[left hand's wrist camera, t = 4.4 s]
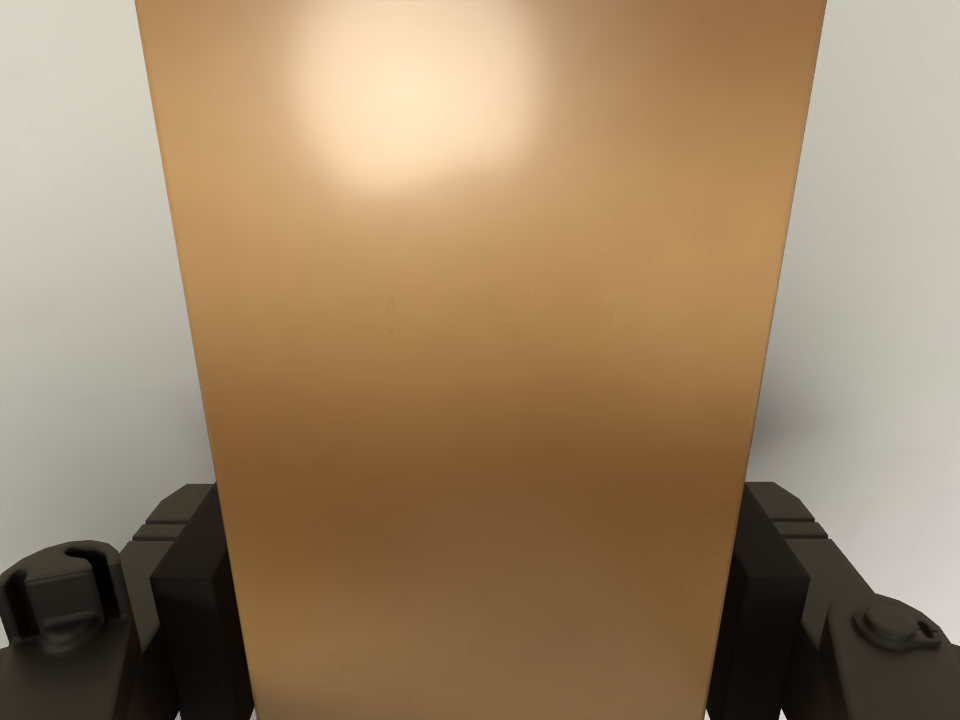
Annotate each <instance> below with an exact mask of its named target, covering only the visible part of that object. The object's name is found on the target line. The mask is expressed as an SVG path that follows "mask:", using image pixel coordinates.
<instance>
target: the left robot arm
mask: <svg viewBox="0 0 960 720" xmlns="http://www.w3.org/2000/svg"><path fill="white" fill-rule="evenodd" d="M0 617H1V620H2V623H3V625H4V628H5V631H6V634H7V637H8V640H9V643H10V644H9V646H8V647H5V648H2V649H0V720H175V718H176V716H177V714H178V712H179V711H180V716H181V720H250V717H251V715H252V712H253V709H254V707H255V705H254V700H253V694H252V688H251V682H250V676H249V670H248V664H247V658H246V653H245V647H244V641H243V635H242V629H241V623H240V617H239V611H238V605H237V600H236V594H235V588H234V582H233V576H232V570H231V564H230V558H229V553H228V547H227V541H226V535H225V529H224V523H223V517H222V511H221V506H220V500H219V494H218V488H217V482H215V484H186V485H185V486H183V487H182V488H180V489H179V490H177V491H176V492H174V493H173V494H171V495H170V496H168V497H167V498H165V499H164V500H162V501H161V502H160V503H159V505H158V506H157V507H156V508H155V510H154V511H153V512H152V513H151V515H150V516H149V517H148V518H147V520H146V524H145V525H142V526H141V527H140V528H139V530H138V531H137V532H136V533H135V535H134V536H133V540H132V541H129V542H128V543H127V545H126V546H125V547H124V548H123V550H122V551H121V552H120V553H118V551H117V550H116V549H115V548H113V547H112V546H111V545H110V544H108V543H104V542H98V541H93V540H86V541H73V542H67V543H63V544H59V545H56V546H52V547H48V548H45V549H43V550H41V551H38V552H36V553H34V554H32V555H30V556H28V557H25V558H23V559H21V560H20V561H19V562H17V563H16V564H14V565H13V566H12V567H10V568H9V569H7V570H6V571H4V572H3V573H2V574H1V576H0ZM781 708H782V710H783V713H784V715H785V717H786V719H787V720H960V646H958V645H954V644H951V643H950V641H949V640H948V638H947V637H946V635H945V634H944V633H943V631H942V630H941V628H940V627H939V626H938V625H937V624H935V623H934V622H933V621H932V620H930V619H929V618H928V617H927V616H926V615H924V614H923V613H922V612H920V611H918V610H916V609H914V608H913V607H911V606H909V605H907V604H905V603H903V602H901V601H899V600H896V599H892V598H889V597H886V596H883V595H879V594H876V593H874V592H873V590H872V589H871V588H870V587H869V585H868V584H867V583H866V582H865V580H864V579H863V578H862V577H861V575H860V574H859V573H858V572H857V570H856V569H855V568H854V567H853V565H852V564H851V563H850V562H849V560H848V559H847V558H846V557H845V555H844V554H843V553H842V552H841V550H840V549H839V548H838V547H837V545H836V544H835V543H834V542H833V541H832V539H828V534H827V533H826V532H825V531H824V529H823V528H822V527H821V526H820V524H819V523H818V522H815V518H814V517H813V516H812V514H811V513H810V512H809V511H808V509H807V508H806V507H805V506H804V504H803V503H802V502H801V501H800V499H798V498H797V497H795V496H794V495H792V494H791V493H789V492H788V491H786V490H785V489H783V488H782V487H780V486H779V485H777V484H776V483H774V482H744V488H743V494H742V500H741V506H740V512H739V518H738V523H737V529H736V535H735V541H734V547H733V553H732V559H731V564H730V570H729V576H728V582H727V588H726V594H725V600H724V605H723V611H722V617H721V623H720V629H719V635H718V641H717V646H716V652H715V658H714V664H713V670H712V676H711V681H710V687H709V693H708V699H707V705H706V709H707V712H708V715H709V717H710V720H779V716H780V711H781Z"/></svg>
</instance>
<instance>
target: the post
mask: <svg viewBox="0 0 960 720" xmlns="http://www.w3.org/2000/svg"><path fill="white" fill-rule="evenodd" d="M826 2H827V0H135V6H136V12H137V18H138V23H139V29H140V35H141V41H142V47H143V53H144V59H145V65H146V70H147V76H148V82H149V88H150V94H151V100H152V106H153V112H154V118H155V123H156V129H157V135H158V141H159V147H160V153H161V159H162V165H163V170H164V176H165V182H166V188H167V194H168V200H169V206H170V212H171V217H172V223H173V229H174V235H175V241H176V247H177V253H178V259H179V264H180V270H181V276H182V282H183V288H184V294H185V300H186V306H187V312H188V317H189V323H190V329H191V335H192V341H193V347H194V353H195V359H196V364H197V370H198V376H199V382H200V388H201V394H202V400H203V406H204V411H205V417H206V423H207V429H208V435H209V441H210V447H211V453H212V458H213V464H214V470H215V476H216V482H217V488H218V494H219V500H220V506H221V511H222V517H223V523H224V529H225V535H226V541H227V547H228V553H229V558H230V564H231V570H232V576H233V582H234V588H235V594H236V600H237V605H238V611H239V617H240V623H241V629H242V635H243V641H244V647H245V653H246V658H247V664H248V670H249V676H250V682H251V688H252V694H253V700H254V705H255V711H256V717H257V720H704V717H705V711H706V705H707V699H708V693H709V687H710V681H711V676H712V670H713V664H714V658H715V652H716V646H717V641H718V635H719V629H720V623H721V617H722V611H723V605H724V600H725V594H726V588H727V582H728V576H729V570H730V564H731V559H732V553H733V547H734V541H735V535H736V529H737V523H738V518H739V512H740V506H741V500H742V494H743V488H744V482H745V477H746V471H747V465H748V459H749V453H750V447H751V442H752V436H753V430H754V424H755V418H756V412H757V406H758V401H759V395H760V389H761V383H762V377H763V371H764V365H765V360H766V354H767V348H768V342H769V336H770V330H771V324H772V319H773V313H774V307H775V301H776V295H777V289H778V283H779V278H780V272H781V266H782V260H783V254H784V248H785V242H786V237H787V231H788V225H789V219H790V213H791V207H792V202H793V196H794V190H795V184H796V178H797V172H798V166H799V161H800V155H801V149H802V143H803V137H804V131H805V125H806V120H807V114H808V108H809V102H810V96H811V90H812V84H813V79H814V73H815V67H816V61H817V55H818V49H819V43H820V38H821V32H822V26H823V20H824V14H825V8H826Z"/></svg>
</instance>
